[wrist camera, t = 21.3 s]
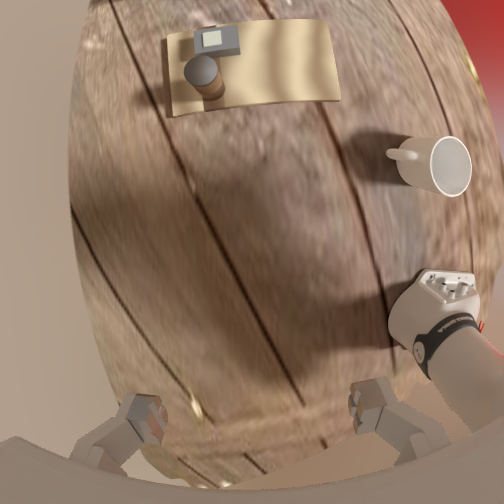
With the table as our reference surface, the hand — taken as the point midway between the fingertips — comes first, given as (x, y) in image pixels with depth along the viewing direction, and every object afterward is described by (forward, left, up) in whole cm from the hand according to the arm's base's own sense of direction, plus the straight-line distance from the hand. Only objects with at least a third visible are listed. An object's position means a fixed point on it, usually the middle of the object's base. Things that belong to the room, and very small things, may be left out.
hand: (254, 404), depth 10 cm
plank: (-2, -24, -33) cm, 41 cm away
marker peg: (+4, -20, -32) cm, 38 cm away
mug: (-25, -8, -34) cm, 43 cm away
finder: (+2, -27, -32) cm, 42 cm away
